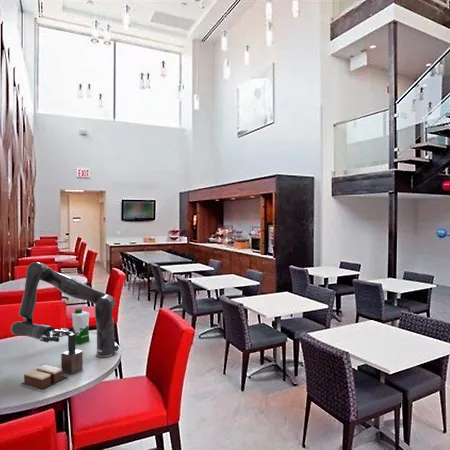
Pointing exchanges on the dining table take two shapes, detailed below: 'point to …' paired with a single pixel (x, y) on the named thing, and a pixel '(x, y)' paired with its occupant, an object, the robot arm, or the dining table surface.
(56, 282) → the robot arm
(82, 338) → the milk carton
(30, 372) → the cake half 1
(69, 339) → the knife
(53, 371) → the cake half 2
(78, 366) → the knife block
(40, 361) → the dining table surface
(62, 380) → the cake board
